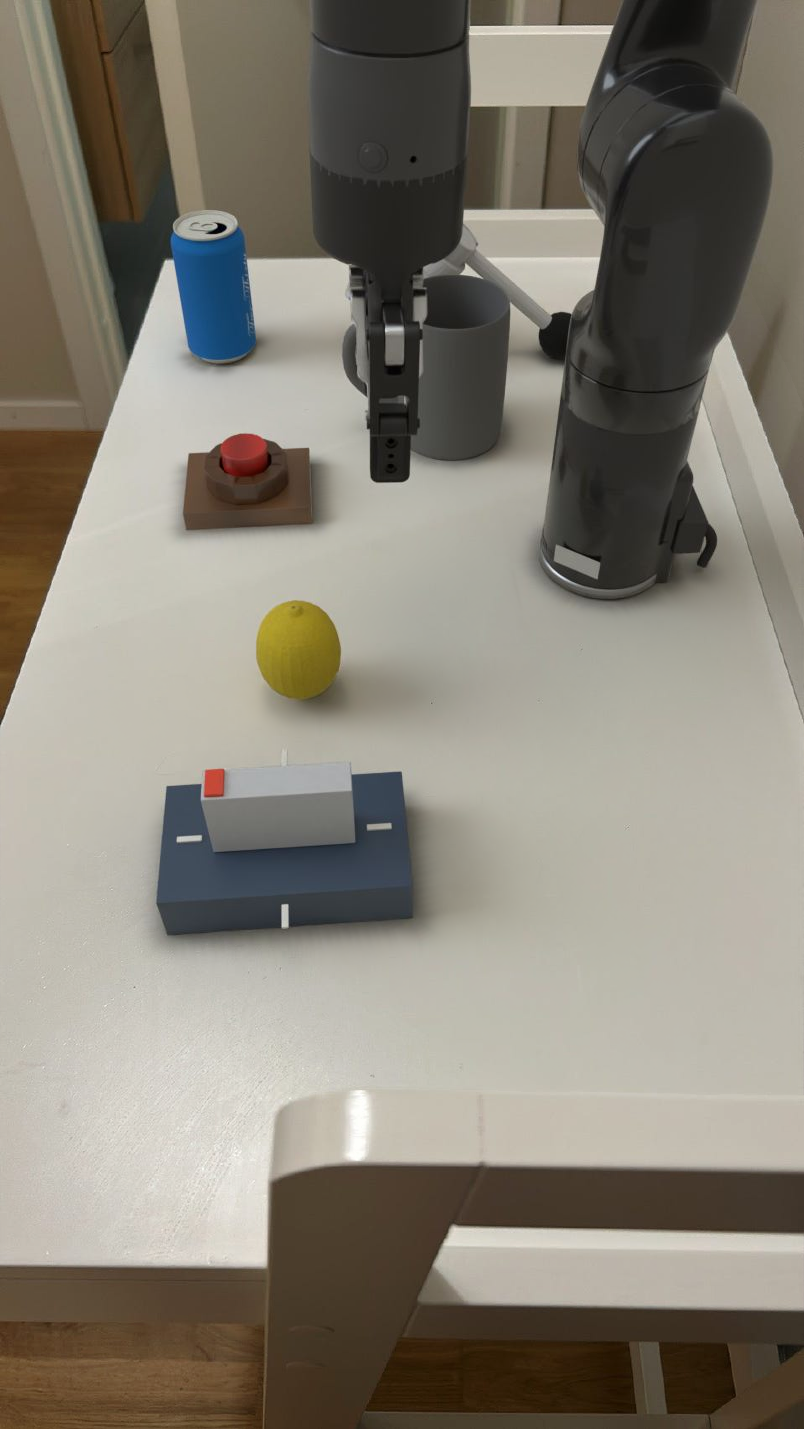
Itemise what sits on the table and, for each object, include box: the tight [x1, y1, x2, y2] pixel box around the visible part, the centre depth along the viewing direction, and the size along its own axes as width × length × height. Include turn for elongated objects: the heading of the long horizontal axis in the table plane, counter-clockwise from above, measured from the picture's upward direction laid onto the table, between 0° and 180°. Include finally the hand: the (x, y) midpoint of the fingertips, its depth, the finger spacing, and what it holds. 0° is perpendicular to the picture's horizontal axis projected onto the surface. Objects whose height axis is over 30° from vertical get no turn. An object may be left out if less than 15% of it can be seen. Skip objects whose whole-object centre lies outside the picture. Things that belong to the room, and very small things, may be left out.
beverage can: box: [170, 209, 257, 365], centre depth 96 cm, size 6×6×12 cm
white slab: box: [201, 761, 356, 852], centre depth 58 cm, size 8×2×5 cm, turn 94°
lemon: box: [255, 600, 342, 700], centre depth 68 cm, size 6×6×8 cm
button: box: [221, 432, 269, 477], centre depth 83 cm, size 4×4×2 cm
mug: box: [341, 274, 511, 461], centre depth 87 cm, size 14×9×12 cm
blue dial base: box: [155, 748, 414, 936], centre depth 61 cm, size 14×12×4 cm
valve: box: [344, 222, 572, 360], centre depth 98 cm, size 10×20×15 cm
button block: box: [182, 438, 313, 531], centre depth 84 cm, size 10×8×4 cm
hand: (385, 435), depth 62 cm, fingers open, 8 cm apart
